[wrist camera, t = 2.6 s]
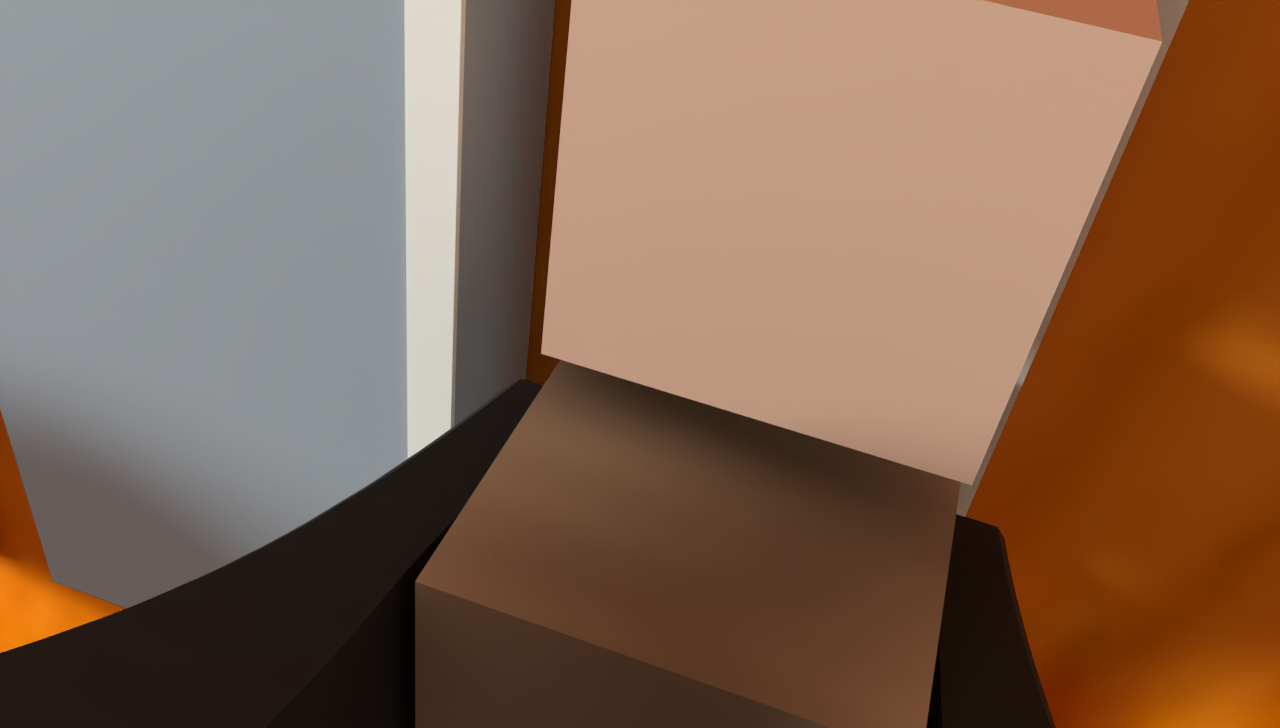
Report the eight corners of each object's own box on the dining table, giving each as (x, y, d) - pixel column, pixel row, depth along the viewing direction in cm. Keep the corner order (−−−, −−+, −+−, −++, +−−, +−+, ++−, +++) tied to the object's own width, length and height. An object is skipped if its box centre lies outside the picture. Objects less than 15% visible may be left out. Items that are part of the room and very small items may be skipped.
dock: (145, 488, 21) (48, 585, 19) (-61, -491, 12) (-287, -498, 10) (507, 615, 20) (443, 732, 18) (584, -373, 11) (469, -354, 9)
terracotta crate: (627, 226, 12) (541, 354, 10) (680, -164, 10) (580, -94, 8) (991, 330, 12) (971, 486, 10) (1148, -64, 9) (1162, 40, 7)
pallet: (577, 604, 19) (379, 1011, 14) (692, -245, 11) (327, -54, 6) (859, 702, 18) (764, 1175, 13) (1207, -142, 10) (1331, 193, 5)
